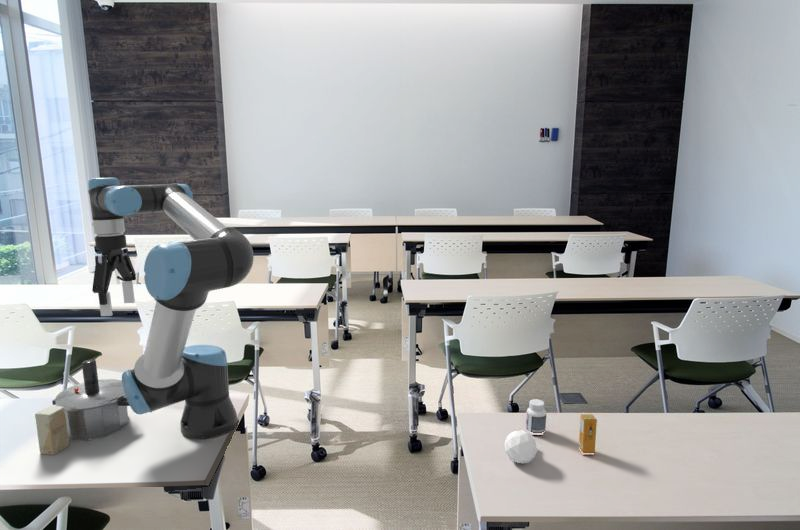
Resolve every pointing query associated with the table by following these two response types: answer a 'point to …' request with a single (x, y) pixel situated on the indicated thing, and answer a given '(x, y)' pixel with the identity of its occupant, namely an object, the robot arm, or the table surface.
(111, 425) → the pot
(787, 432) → the table surface
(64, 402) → the lid
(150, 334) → the robot arm
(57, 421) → the box
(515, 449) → the white faceted ovoid
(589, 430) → the supplement box
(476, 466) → the table surface
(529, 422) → the pill bottle
